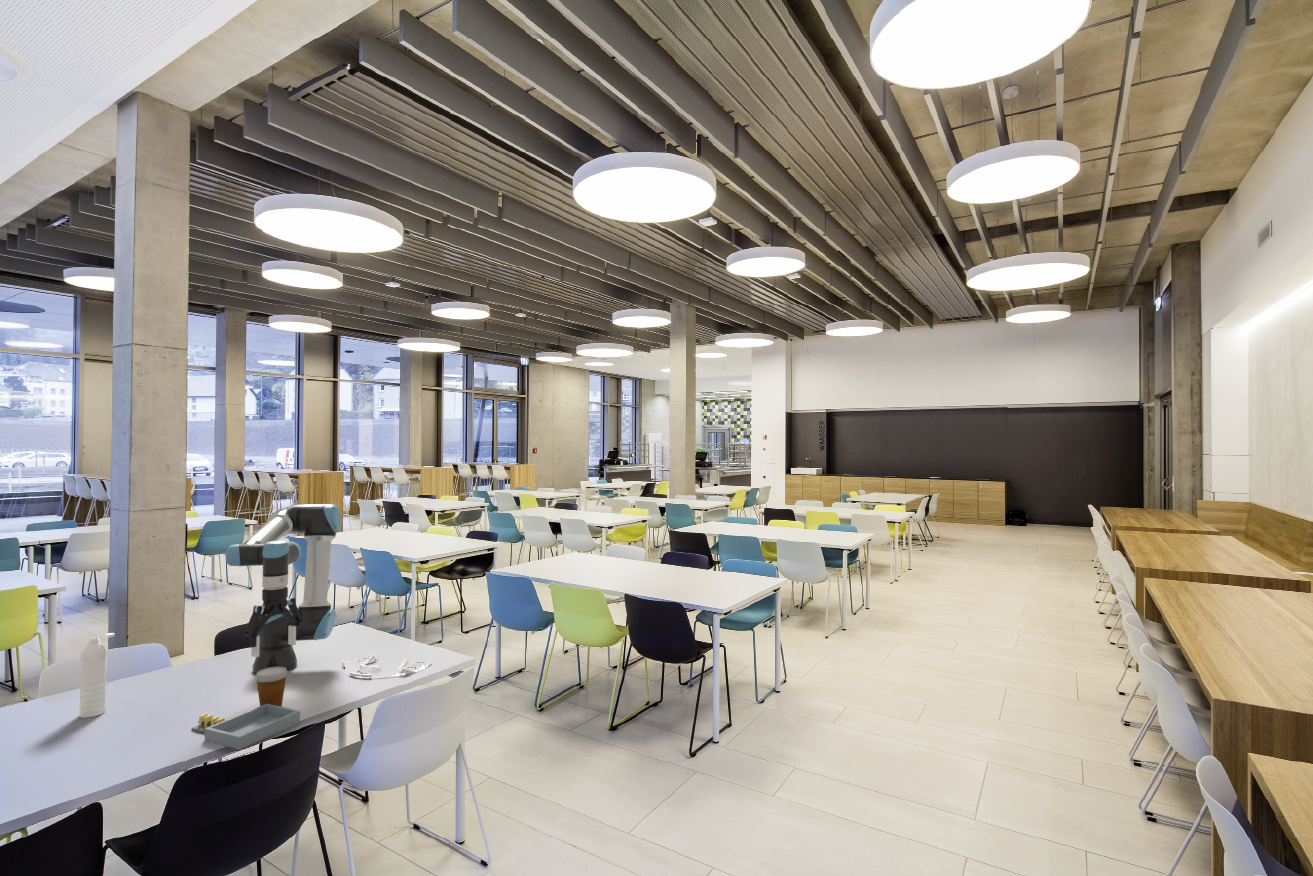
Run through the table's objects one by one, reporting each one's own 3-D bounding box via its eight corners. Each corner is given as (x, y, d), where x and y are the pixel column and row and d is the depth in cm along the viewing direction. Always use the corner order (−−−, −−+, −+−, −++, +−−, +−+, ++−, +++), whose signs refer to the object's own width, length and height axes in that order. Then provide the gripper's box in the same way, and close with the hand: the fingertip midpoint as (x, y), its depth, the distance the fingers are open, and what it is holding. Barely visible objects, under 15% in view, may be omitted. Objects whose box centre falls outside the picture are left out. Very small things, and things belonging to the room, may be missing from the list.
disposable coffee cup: (263, 715, 209) (264, 678, 209) (248, 708, 214) (249, 672, 214) (293, 705, 217) (293, 669, 217) (278, 699, 222) (278, 664, 222)
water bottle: (85, 719, 204) (87, 641, 204) (75, 715, 207) (76, 638, 207) (118, 709, 212) (119, 634, 212) (107, 706, 215) (109, 631, 215)
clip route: (190, 730, 197) (190, 718, 197) (210, 722, 203) (210, 710, 203) (214, 736, 193) (214, 723, 193) (234, 728, 199) (234, 716, 199)
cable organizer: (436, 663, 260) (437, 655, 260) (397, 684, 237) (397, 675, 237) (365, 655, 270) (365, 647, 270) (321, 674, 247) (321, 666, 247)
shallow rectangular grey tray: (204, 740, 190) (204, 728, 190) (266, 714, 209) (267, 703, 209) (239, 749, 185) (239, 737, 185) (300, 722, 204) (300, 710, 204)
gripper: (248, 596, 203) (246, 663, 203) (314, 581, 227) (313, 641, 226) (231, 594, 206) (230, 660, 206) (299, 579, 229) (298, 638, 229)
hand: (274, 650), depth 216 cm, fingers open, 13 cm apart
